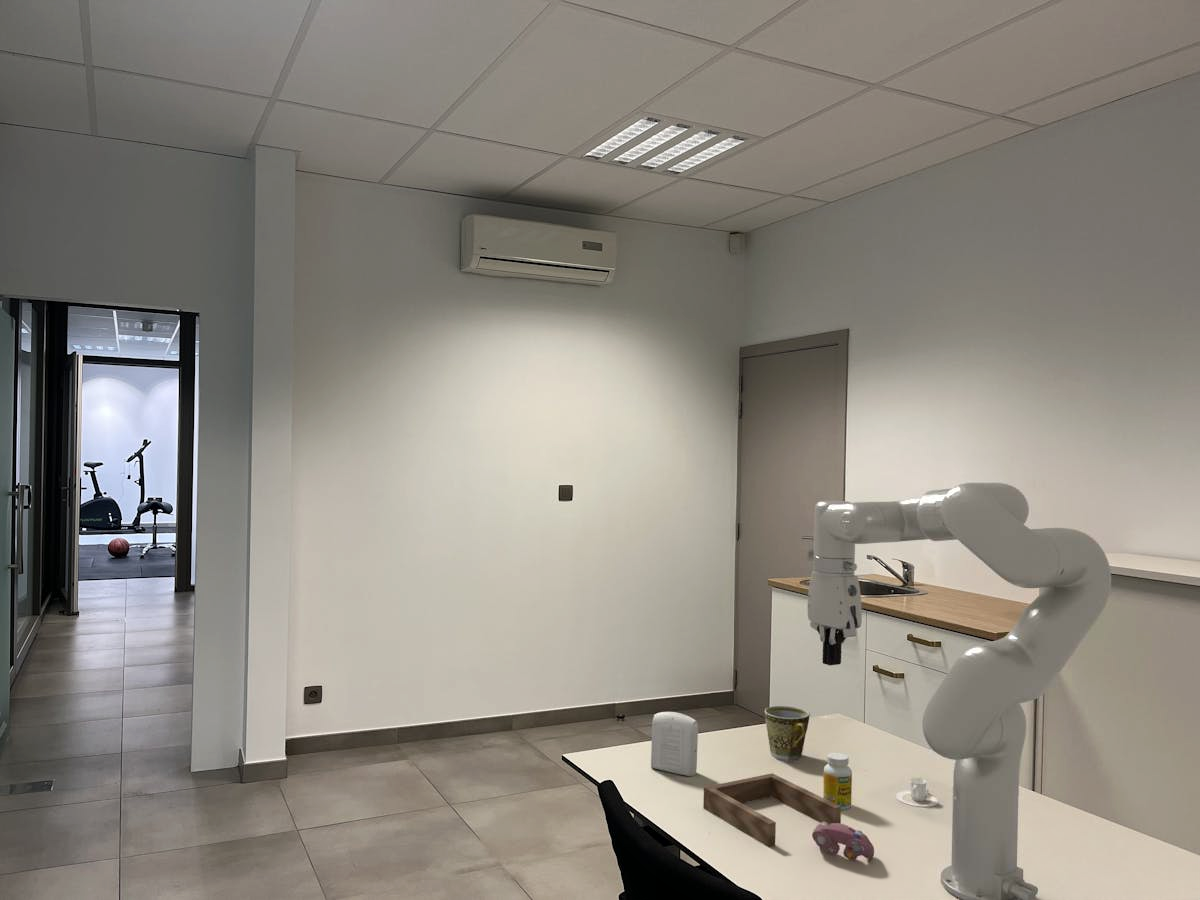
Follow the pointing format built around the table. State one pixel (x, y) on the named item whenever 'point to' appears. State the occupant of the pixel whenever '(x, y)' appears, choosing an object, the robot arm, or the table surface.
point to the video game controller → (843, 840)
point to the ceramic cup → (786, 731)
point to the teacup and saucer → (917, 793)
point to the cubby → (732, 794)
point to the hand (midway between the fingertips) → (831, 663)
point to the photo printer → (674, 743)
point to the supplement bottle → (838, 780)
